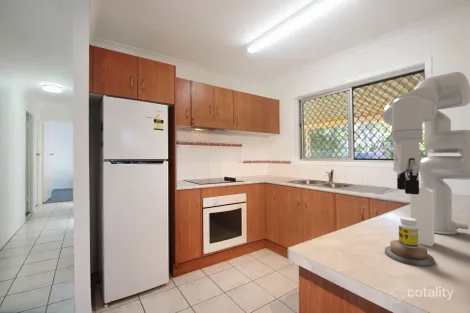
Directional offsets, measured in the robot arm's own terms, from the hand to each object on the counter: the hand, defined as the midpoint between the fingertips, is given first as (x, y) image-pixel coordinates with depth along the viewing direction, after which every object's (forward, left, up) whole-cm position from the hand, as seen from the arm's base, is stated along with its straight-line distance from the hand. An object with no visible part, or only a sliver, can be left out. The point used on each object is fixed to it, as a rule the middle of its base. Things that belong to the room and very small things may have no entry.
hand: (407, 191), depth 68 cm
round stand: (0, 0, -20) cm, 20 cm away
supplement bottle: (0, 0, -17) cm, 17 cm away
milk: (-8, -17, -21) cm, 28 cm away
